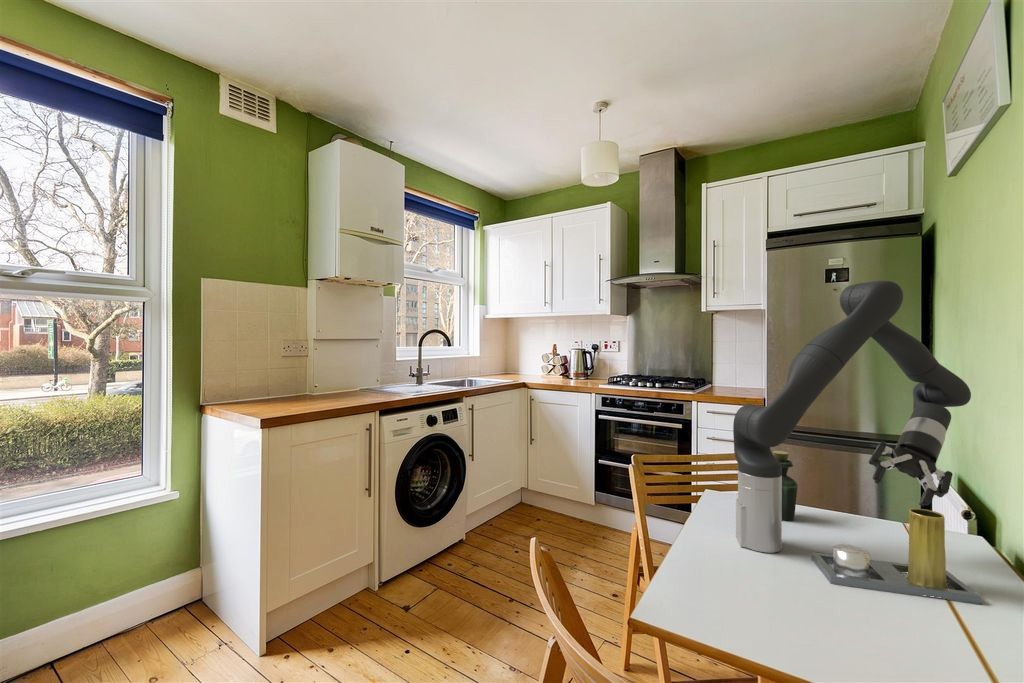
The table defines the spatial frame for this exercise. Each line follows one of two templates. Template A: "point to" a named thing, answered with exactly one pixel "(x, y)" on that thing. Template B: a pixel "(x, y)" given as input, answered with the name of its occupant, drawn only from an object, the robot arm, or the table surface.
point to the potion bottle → (787, 487)
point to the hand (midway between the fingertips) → (899, 492)
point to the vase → (927, 548)
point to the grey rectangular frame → (883, 575)
